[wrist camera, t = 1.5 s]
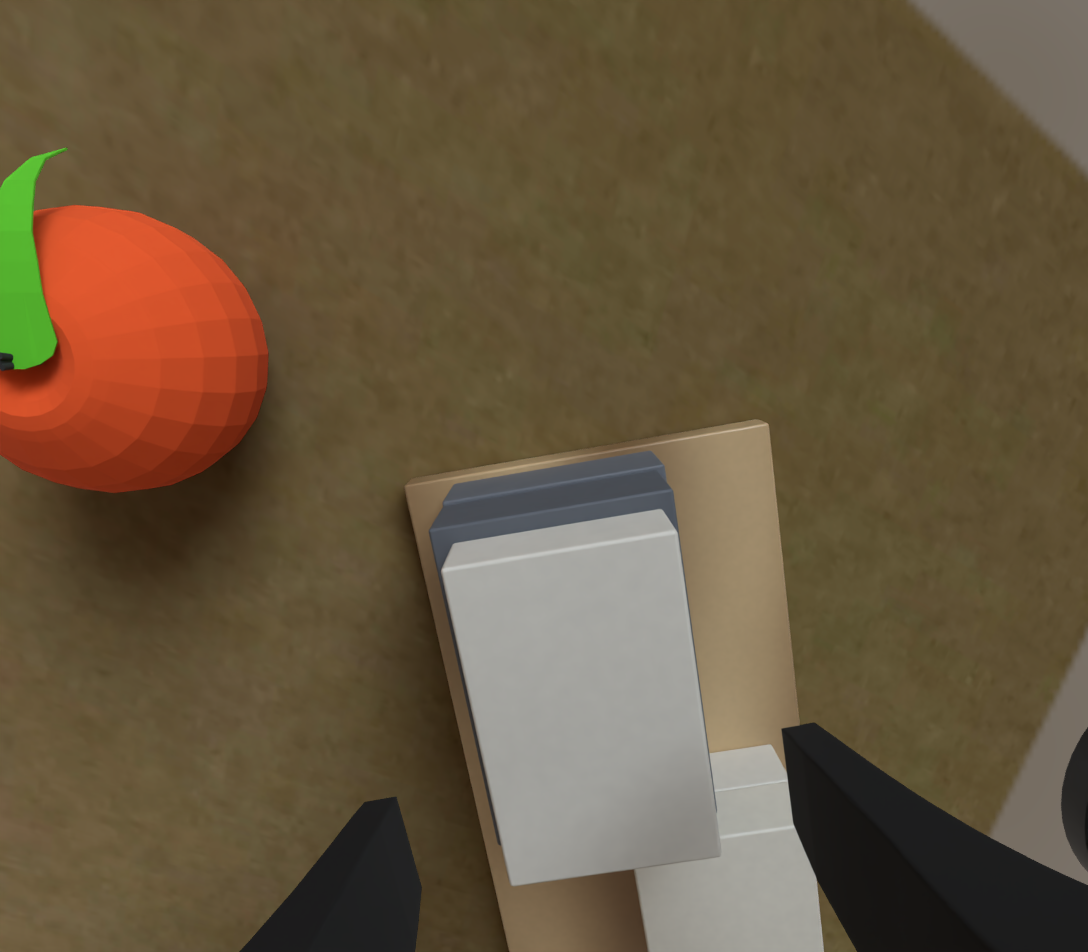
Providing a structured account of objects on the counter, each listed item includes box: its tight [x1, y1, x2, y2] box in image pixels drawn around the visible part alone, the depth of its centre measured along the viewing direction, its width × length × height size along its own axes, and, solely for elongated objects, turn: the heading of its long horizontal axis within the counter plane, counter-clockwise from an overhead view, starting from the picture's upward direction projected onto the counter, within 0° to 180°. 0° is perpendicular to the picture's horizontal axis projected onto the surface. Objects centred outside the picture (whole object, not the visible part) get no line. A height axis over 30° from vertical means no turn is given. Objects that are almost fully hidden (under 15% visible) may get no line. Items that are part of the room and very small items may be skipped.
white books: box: [634, 744, 824, 952], centre depth 21 cm, size 5×8×4 cm, turn 10°
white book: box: [441, 509, 722, 886], centre depth 15 cm, size 5×8×2 cm, turn 10°
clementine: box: [0, 148, 269, 493], centre depth 16 cm, size 8×7×7 cm
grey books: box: [429, 451, 717, 846], centre depth 18 cm, size 6×9×4 cm, turn 10°
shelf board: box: [404, 419, 800, 952], centre depth 22 cm, size 11×18×1 cm, turn 10°
